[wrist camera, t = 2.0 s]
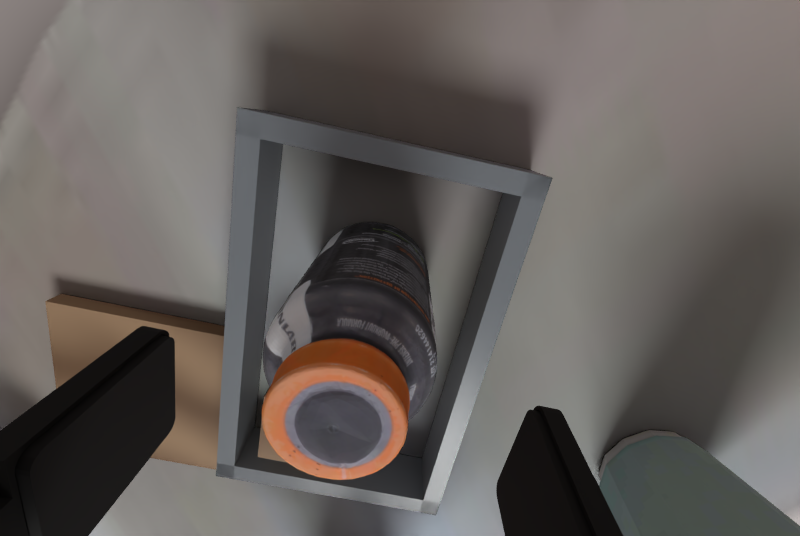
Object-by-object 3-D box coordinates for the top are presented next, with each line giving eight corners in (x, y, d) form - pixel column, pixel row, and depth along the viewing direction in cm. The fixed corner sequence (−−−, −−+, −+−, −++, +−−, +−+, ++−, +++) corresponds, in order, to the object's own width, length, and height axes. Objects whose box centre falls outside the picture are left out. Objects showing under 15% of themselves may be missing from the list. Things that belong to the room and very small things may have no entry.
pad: (228, 457, 26) (221, 470, 25) (76, 430, 25) (63, 442, 24) (237, 328, 22) (230, 337, 21) (61, 293, 22) (45, 301, 21)
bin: (433, 472, 25) (436, 515, 23) (238, 436, 25) (215, 475, 22) (531, 170, 19) (552, 178, 16) (264, 110, 18) (237, 107, 15)
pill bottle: (296, 254, 20) (172, 392, 10) (392, 198, 19) (368, 287, 9) (356, 339, 22) (305, 535, 12) (447, 293, 21) (484, 464, 10)
